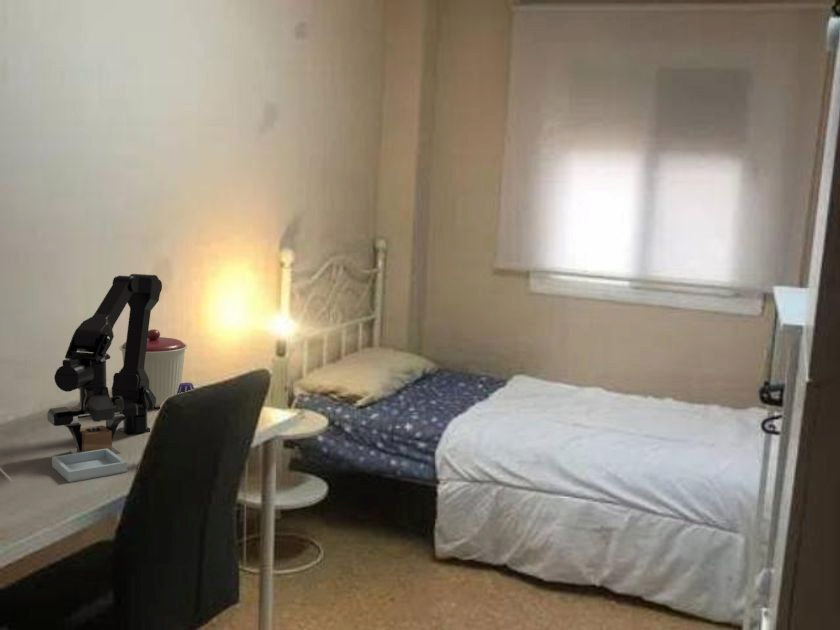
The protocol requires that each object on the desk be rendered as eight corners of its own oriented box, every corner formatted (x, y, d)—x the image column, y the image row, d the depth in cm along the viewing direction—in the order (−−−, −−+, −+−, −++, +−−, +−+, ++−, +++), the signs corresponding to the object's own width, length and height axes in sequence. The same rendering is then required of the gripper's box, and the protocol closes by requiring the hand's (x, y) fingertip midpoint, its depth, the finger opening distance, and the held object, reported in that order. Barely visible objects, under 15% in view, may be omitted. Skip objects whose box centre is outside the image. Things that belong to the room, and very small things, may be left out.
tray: (52, 468, 191) (51, 456, 191) (107, 459, 199) (107, 448, 198) (69, 483, 182) (68, 472, 182) (126, 473, 189) (126, 462, 189)
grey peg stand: (68, 451, 204) (67, 426, 203) (107, 445, 209) (107, 420, 208) (80, 461, 197) (80, 435, 196) (121, 454, 202) (120, 429, 201)
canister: (201, 402, 251) (200, 329, 248) (151, 415, 236) (150, 337, 233) (157, 393, 261) (156, 322, 258) (106, 404, 246) (104, 329, 243)
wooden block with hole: (73, 447, 205) (73, 426, 204) (99, 443, 209) (99, 422, 208) (85, 456, 199) (84, 435, 198) (112, 452, 202) (111, 431, 202)
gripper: (60, 394, 188) (62, 464, 191) (146, 384, 200) (147, 451, 202) (45, 383, 197) (47, 451, 199) (128, 374, 208) (129, 439, 211)
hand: (94, 448), depth 203 cm, fingers closed on wooden block with hole, 6 cm apart
